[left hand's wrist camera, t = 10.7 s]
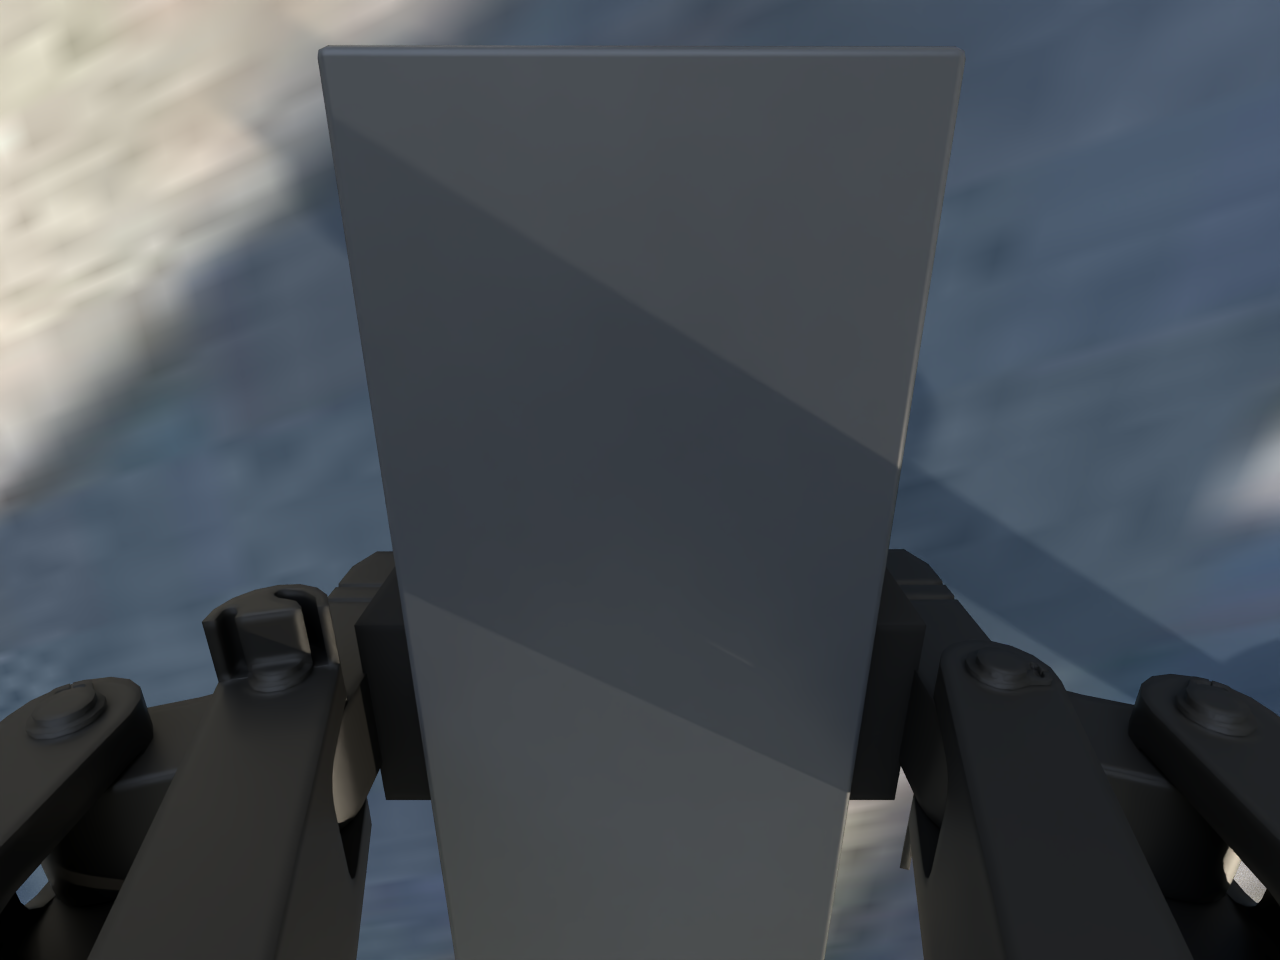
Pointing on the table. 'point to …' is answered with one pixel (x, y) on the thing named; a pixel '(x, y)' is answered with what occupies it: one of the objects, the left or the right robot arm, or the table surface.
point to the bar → (640, 460)
